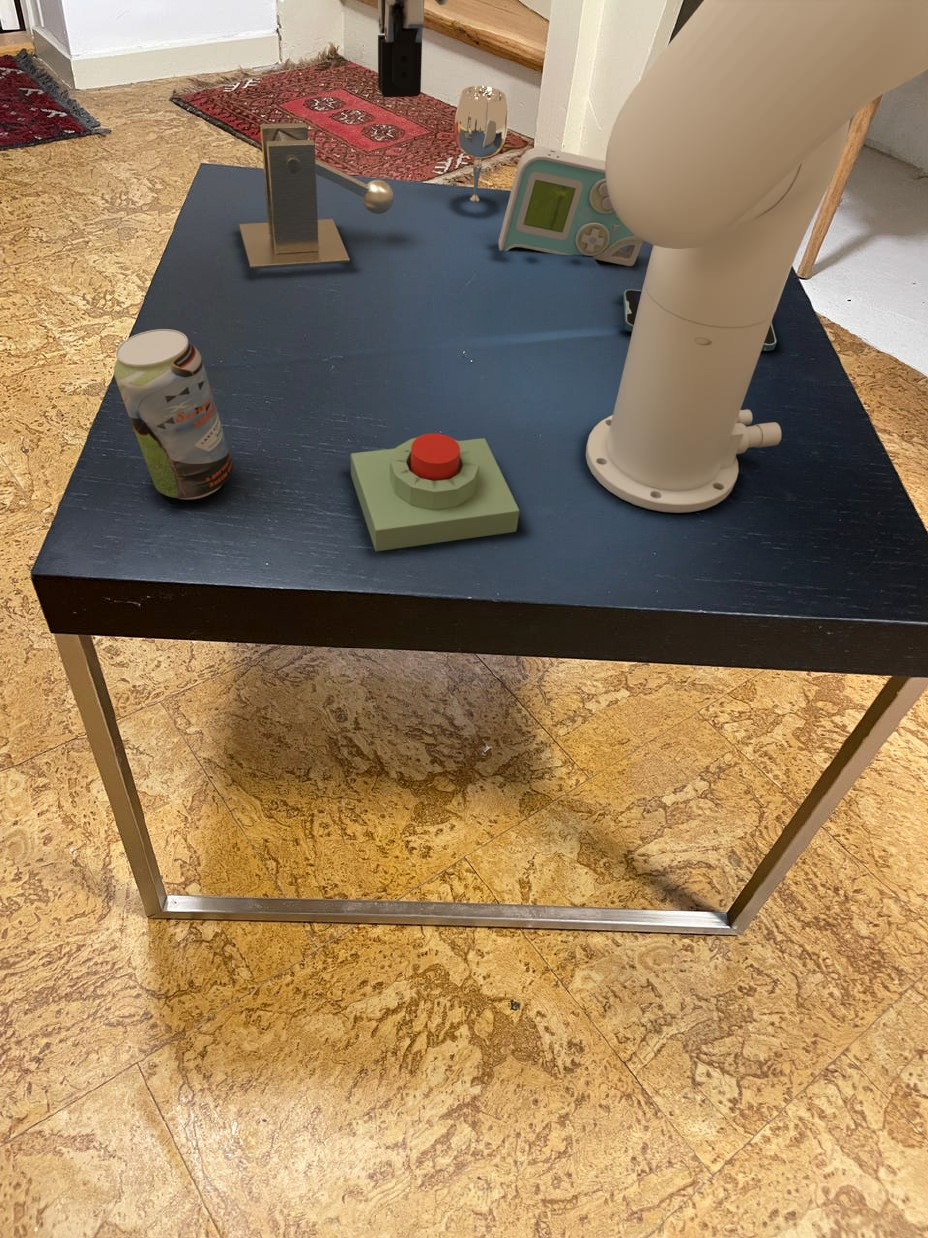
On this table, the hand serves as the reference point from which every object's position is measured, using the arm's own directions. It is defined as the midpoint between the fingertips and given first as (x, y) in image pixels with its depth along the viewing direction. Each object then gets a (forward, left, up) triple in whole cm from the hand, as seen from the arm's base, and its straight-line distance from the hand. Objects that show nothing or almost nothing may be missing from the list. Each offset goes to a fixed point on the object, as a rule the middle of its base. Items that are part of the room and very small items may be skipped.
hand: (399, 92), depth 77 cm
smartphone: (-30, +6, -20) cm, 36 cm away
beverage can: (+21, +21, -20) cm, 36 cm away
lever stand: (+7, -14, -20) cm, 25 cm away
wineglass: (-15, -22, -20) cm, 33 cm away
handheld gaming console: (-22, -9, -20) cm, 31 cm away
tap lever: (+4, -14, -14) cm, 20 cm away
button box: (+3, +27, -20) cm, 34 cm away
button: (+3, +27, -16) cm, 32 cm away
